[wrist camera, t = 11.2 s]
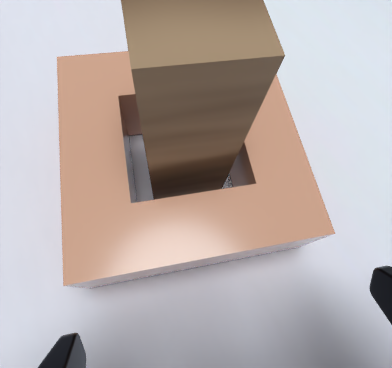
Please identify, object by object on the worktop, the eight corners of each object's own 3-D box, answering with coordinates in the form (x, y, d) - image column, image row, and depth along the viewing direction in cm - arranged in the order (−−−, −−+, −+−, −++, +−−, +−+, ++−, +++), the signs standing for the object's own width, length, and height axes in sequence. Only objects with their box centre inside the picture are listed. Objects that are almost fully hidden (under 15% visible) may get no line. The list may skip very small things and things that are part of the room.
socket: (298, 247, 17) (335, 233, 13) (89, 288, 15) (63, 285, 11) (247, 85, 21) (263, 40, 17) (79, 103, 19) (57, 56, 15)
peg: (218, 194, 18) (285, 55, 7) (154, 204, 17) (131, 69, 7) (205, 138, 19) (246, -43, 9) (146, 146, 18) (115, -39, 8)
